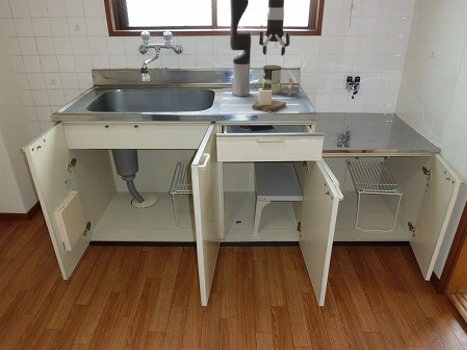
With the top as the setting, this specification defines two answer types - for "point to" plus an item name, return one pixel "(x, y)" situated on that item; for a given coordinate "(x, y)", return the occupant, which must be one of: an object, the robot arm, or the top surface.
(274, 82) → the coffee can
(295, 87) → the pipe connector
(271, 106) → the board
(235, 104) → the top surface
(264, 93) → the cream rectangular block
